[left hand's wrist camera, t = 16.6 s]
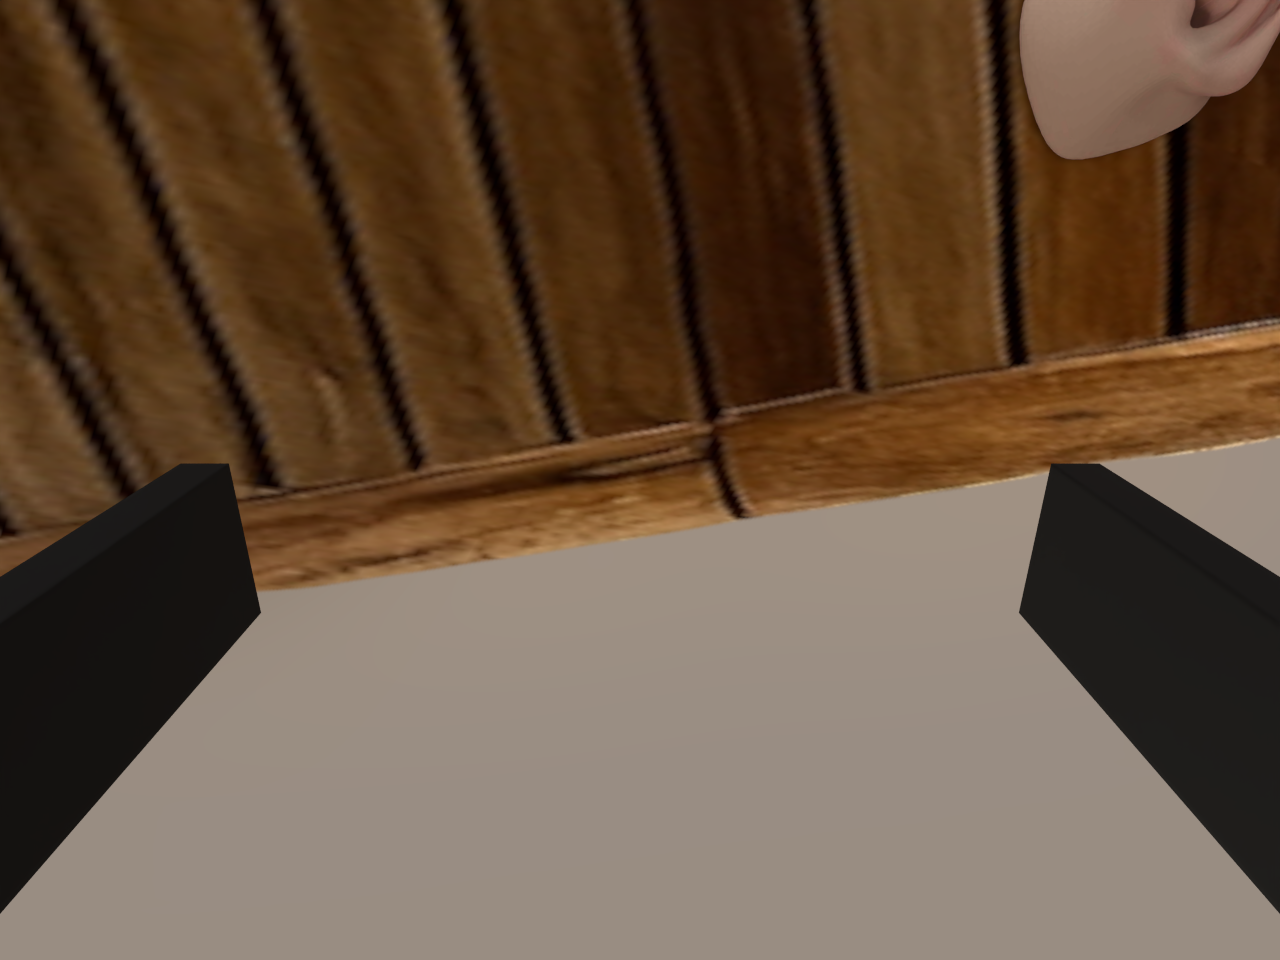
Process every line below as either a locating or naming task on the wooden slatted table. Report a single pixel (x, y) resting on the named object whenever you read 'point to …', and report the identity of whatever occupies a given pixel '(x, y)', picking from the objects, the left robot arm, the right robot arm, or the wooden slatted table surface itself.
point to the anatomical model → (1135, 65)
